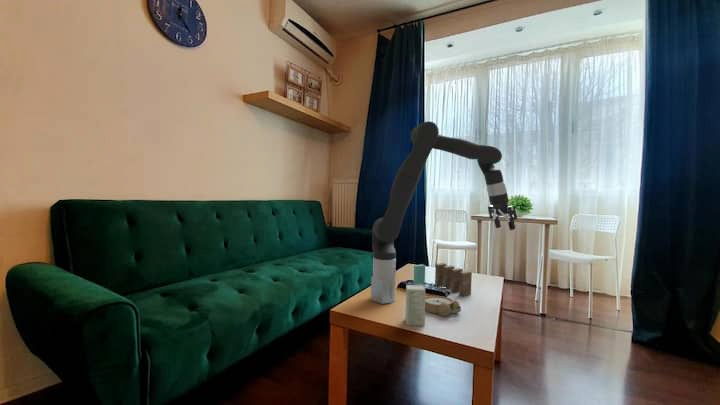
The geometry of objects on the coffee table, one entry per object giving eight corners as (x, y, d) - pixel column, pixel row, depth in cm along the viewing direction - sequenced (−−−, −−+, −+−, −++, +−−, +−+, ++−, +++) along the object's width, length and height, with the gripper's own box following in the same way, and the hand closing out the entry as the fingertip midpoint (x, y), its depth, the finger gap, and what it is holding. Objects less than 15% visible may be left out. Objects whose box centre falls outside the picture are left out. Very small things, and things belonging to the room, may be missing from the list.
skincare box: (423, 320, 97) (424, 285, 97) (425, 326, 93) (426, 289, 93) (404, 319, 98) (405, 284, 98) (405, 324, 94) (406, 288, 93)
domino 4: (470, 294, 124) (471, 271, 124) (462, 296, 122) (463, 273, 121) (467, 293, 126) (468, 270, 125) (459, 294, 123) (460, 271, 123)
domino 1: (445, 284, 137) (446, 263, 137) (437, 285, 135) (438, 264, 134) (442, 283, 139) (443, 262, 138) (435, 284, 136) (435, 263, 136)
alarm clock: (436, 294, 116) (467, 299, 103) (437, 306, 115) (469, 313, 103) (416, 299, 110) (447, 305, 97) (417, 312, 109) (448, 320, 96)
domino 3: (462, 290, 128) (462, 269, 128) (454, 292, 126) (454, 270, 126) (458, 289, 130) (459, 267, 130) (450, 291, 128) (451, 269, 127)
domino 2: (453, 287, 133) (454, 266, 132) (445, 288, 130) (446, 267, 130) (450, 286, 134) (451, 265, 134) (442, 287, 132) (443, 266, 132)
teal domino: (424, 286, 133) (425, 265, 133) (416, 287, 131) (416, 266, 131) (421, 285, 135) (422, 264, 135) (413, 286, 133) (414, 265, 132)
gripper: (479, 195, 130) (487, 229, 131) (501, 195, 116) (510, 232, 117) (493, 191, 132) (501, 224, 133) (516, 190, 118) (524, 227, 119)
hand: (505, 228), depth 125 cm, fingers open, 8 cm apart
